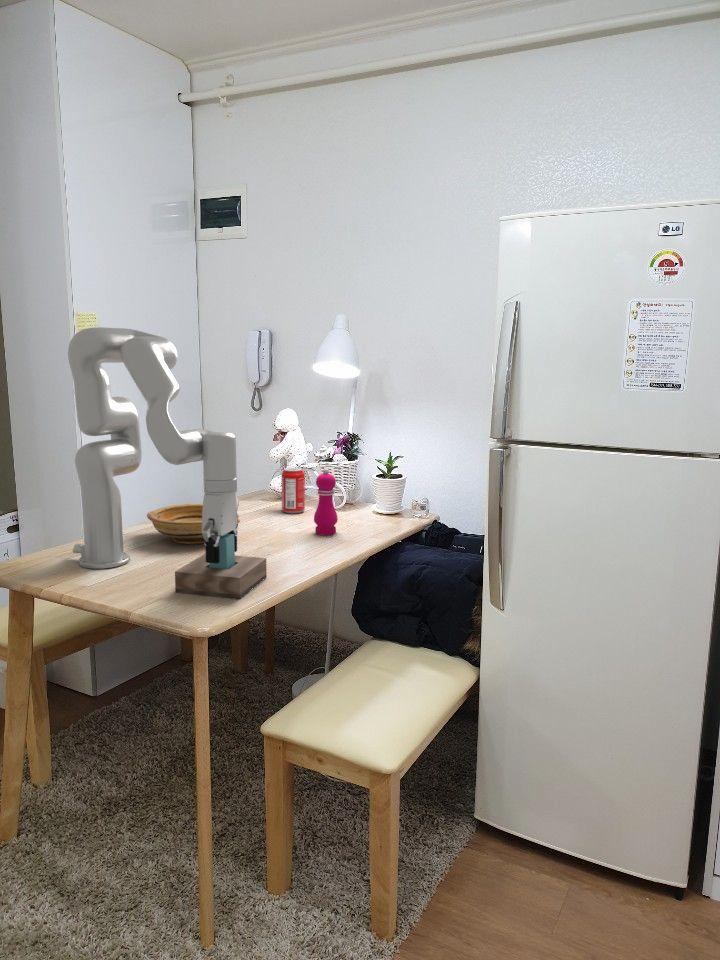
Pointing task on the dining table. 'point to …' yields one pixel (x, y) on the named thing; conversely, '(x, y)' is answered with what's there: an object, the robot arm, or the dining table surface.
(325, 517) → the pepper mill
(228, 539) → the peg
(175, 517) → the ceramic bowl
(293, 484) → the soda can
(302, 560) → the dining table surface
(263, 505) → the dining table surface
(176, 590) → the bore block
